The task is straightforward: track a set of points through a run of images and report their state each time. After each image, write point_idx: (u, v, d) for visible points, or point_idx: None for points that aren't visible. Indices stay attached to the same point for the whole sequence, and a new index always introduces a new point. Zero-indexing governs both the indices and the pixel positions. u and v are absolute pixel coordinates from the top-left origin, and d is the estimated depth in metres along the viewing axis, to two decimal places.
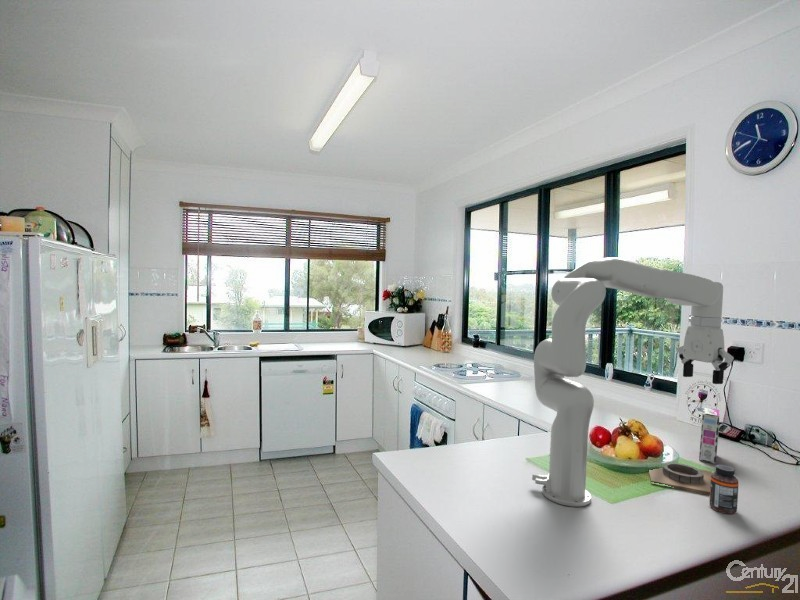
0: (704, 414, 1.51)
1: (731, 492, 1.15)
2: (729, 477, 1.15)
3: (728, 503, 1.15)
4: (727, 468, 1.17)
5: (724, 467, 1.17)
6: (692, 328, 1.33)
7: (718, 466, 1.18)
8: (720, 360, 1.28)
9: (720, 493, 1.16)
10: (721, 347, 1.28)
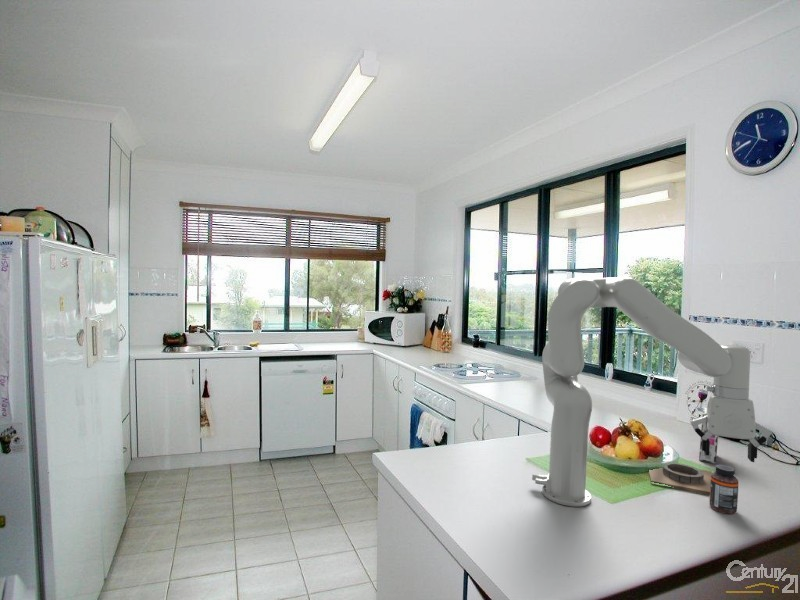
0: (704, 414, 1.51)
1: (731, 492, 1.15)
2: (729, 477, 1.15)
3: (728, 503, 1.15)
4: (727, 468, 1.17)
5: (724, 467, 1.17)
6: (723, 400, 1.15)
7: (718, 466, 1.18)
8: None
9: (720, 493, 1.16)
10: None
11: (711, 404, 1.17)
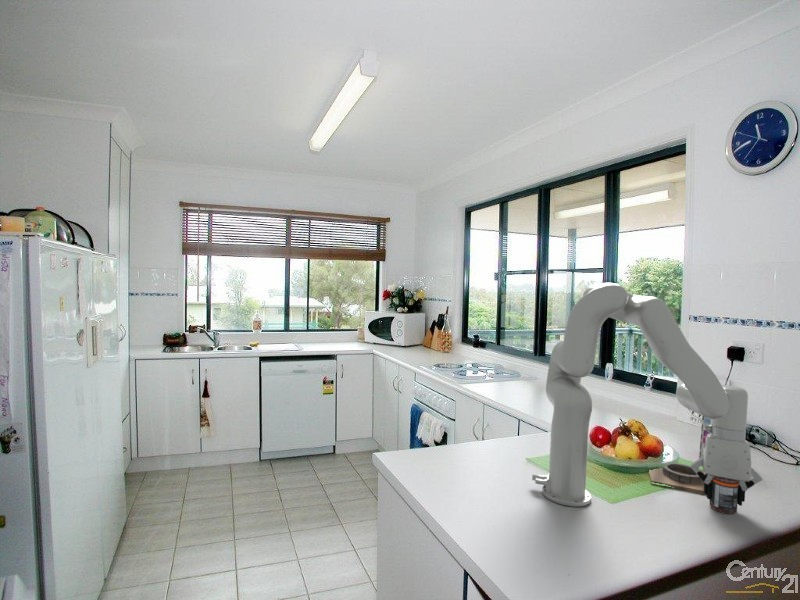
0: None
1: (731, 492, 1.15)
2: None
3: (728, 503, 1.15)
4: None
5: None
6: (720, 441, 1.16)
7: None
8: None
9: (720, 493, 1.16)
10: None
11: (708, 444, 1.17)
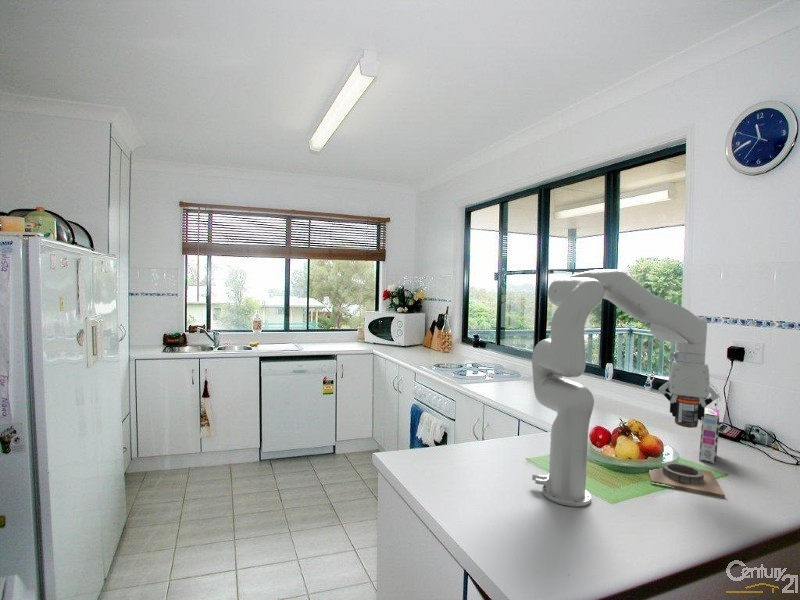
0: (704, 414, 1.51)
1: (692, 408, 1.32)
2: None
3: (689, 417, 1.32)
4: None
5: None
6: (683, 364, 1.33)
7: None
8: None
9: (683, 410, 1.33)
10: None
11: (673, 368, 1.35)
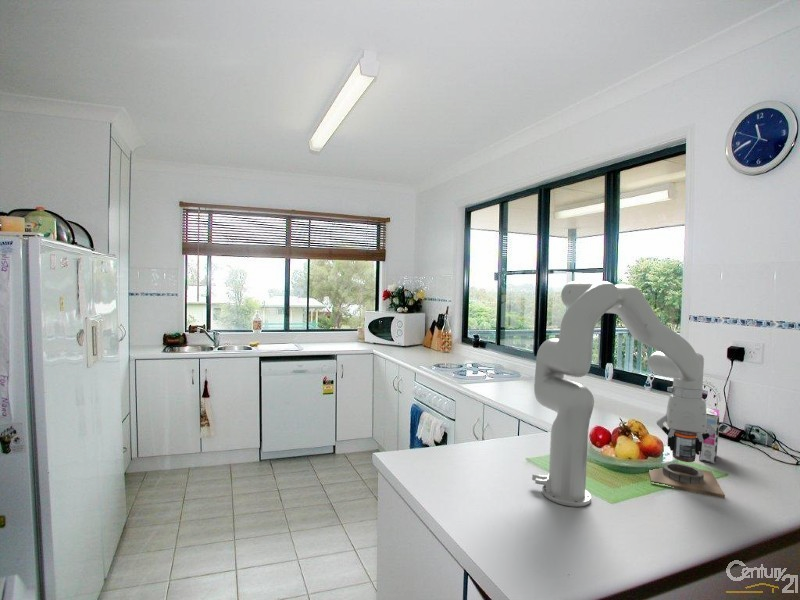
0: None
1: (690, 442, 1.33)
2: None
3: (687, 452, 1.33)
4: None
5: None
6: (680, 399, 1.34)
7: None
8: None
9: (680, 444, 1.34)
10: None
11: (670, 402, 1.35)
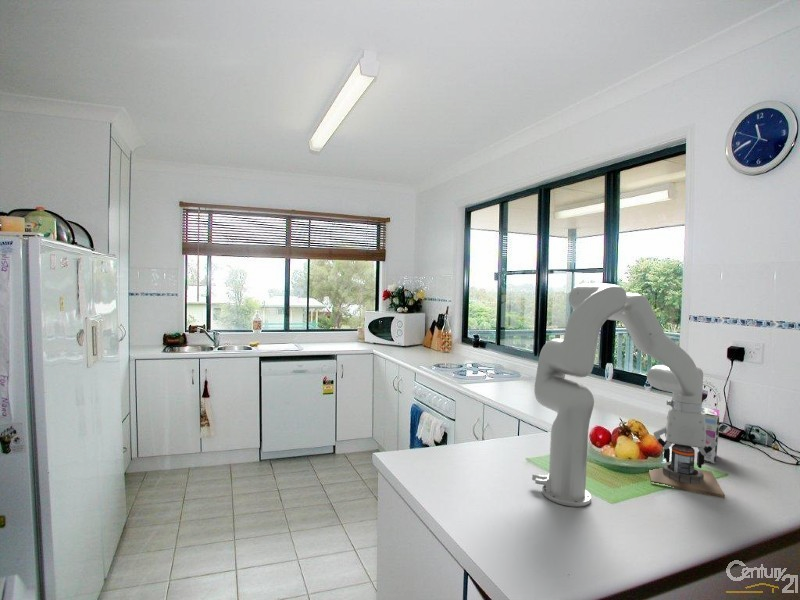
0: (704, 414, 1.51)
1: (688, 460, 1.33)
2: (686, 447, 1.34)
3: (685, 469, 1.33)
4: None
5: None
6: (679, 413, 1.34)
7: None
8: None
9: (678, 461, 1.34)
10: None
11: (669, 416, 1.35)
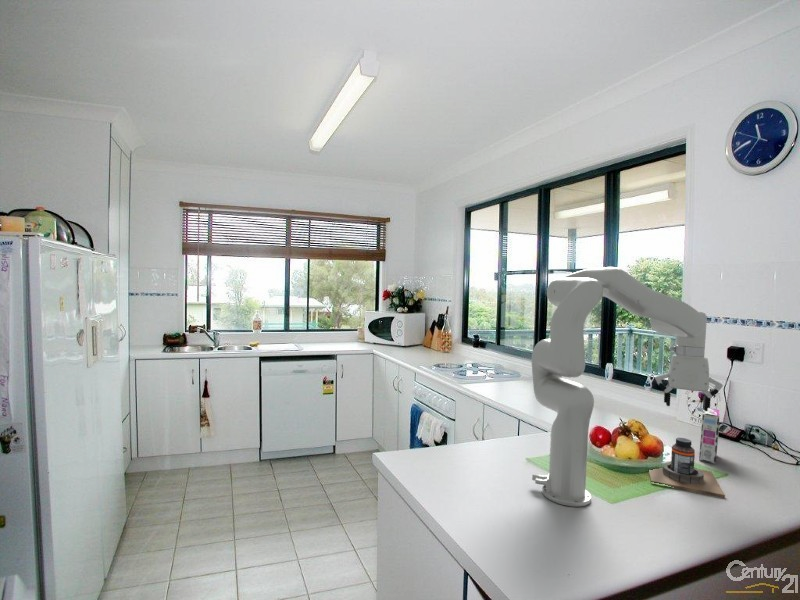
0: (704, 414, 1.51)
1: (688, 460, 1.33)
2: (686, 447, 1.34)
3: (685, 469, 1.33)
4: (685, 440, 1.35)
5: (682, 439, 1.36)
6: (683, 358, 1.33)
7: (678, 438, 1.36)
8: None
9: (678, 461, 1.34)
10: None
11: (672, 361, 1.35)
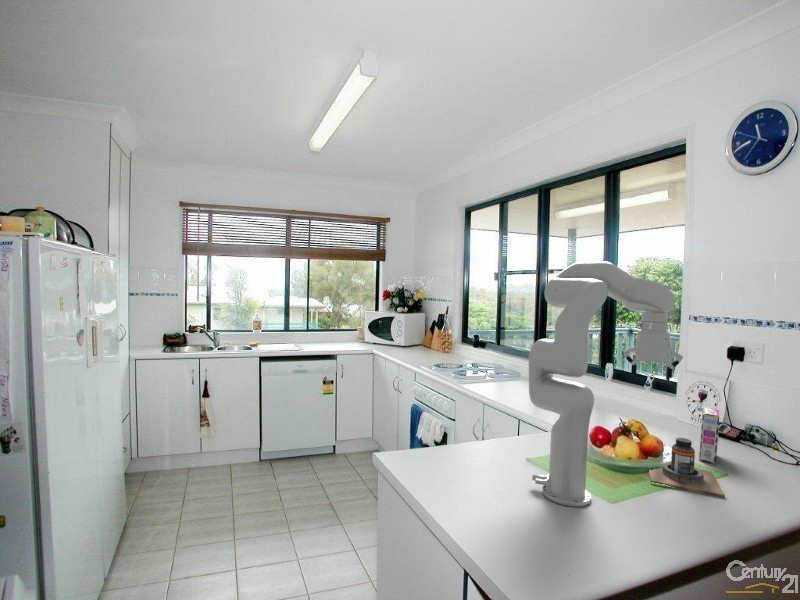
0: (704, 414, 1.51)
1: (688, 460, 1.33)
2: (686, 447, 1.34)
3: (685, 469, 1.33)
4: (685, 440, 1.35)
5: (682, 439, 1.36)
6: (647, 332, 1.46)
7: (678, 438, 1.36)
8: None
9: (678, 461, 1.34)
10: None
11: (638, 336, 1.47)
